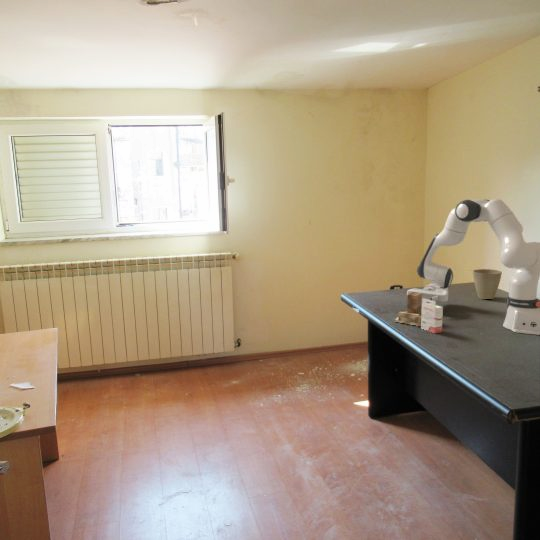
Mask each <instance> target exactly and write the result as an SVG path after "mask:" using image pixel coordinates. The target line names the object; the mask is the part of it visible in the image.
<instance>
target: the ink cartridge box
mask: <svg viewBox="0 0 540 540" xmlns="http://www.w3.org/2000/svg"><path fill="white" fill-rule="evenodd" d="M443 311H444V307H443V306H441V305H437V301H432V300H428V299H424V298H423V299H422V304H421V312H422V314H421V327H420V328H421V330H423V329H424V330H423V331H426V330H427V331H426V332H429V333H431V332H432V333H431V334H437V333H442V332H443V316H444V315H443V313H444V312H443Z"/></svg>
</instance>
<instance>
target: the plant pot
mask: <svg viewBox="0 0 540 540" xmlns="http://www.w3.org/2000/svg"><path fill="white" fill-rule="evenodd" d="M472 274H473V282H474V286H475V291H476V294H477V296H478V299H479V298H480V299H479V300H482V299H492V300H494V298H495V296H496V293H497V292H498V288H499V285H500V282H501V278H502V271H501V270H497V269H492V268H490V269H489V268H488V269H487V268H479V269H474V270H472Z"/></svg>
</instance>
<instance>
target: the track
mask: <svg viewBox="0 0 540 540" xmlns="http://www.w3.org/2000/svg"><path fill="white" fill-rule="evenodd" d="M421 314H422V311H421ZM421 314H420V315H419V314H413V313H407V310H405V311H398V317H396V318H394V319H393V323H394V322H400V323H405V324H404V325H406V324H410V325H409V326H412V325H416V326H415V327H418V326H421ZM400 323H399V324H400Z"/></svg>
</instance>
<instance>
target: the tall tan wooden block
mask: <svg viewBox="0 0 540 540" xmlns="http://www.w3.org/2000/svg"><path fill="white" fill-rule="evenodd" d="M406 298H407V300H406V301H407V302H406V303H407V304H406V311H407V313H413V314H419V315H420V314H421V312H422V300H423V299H422V293H418V292H412V293H410V294H408V295H407V294H406Z"/></svg>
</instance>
